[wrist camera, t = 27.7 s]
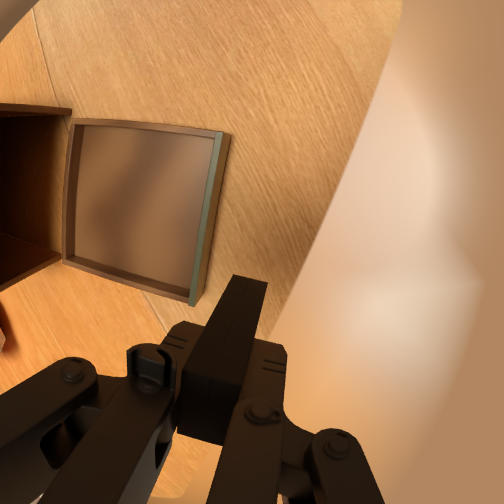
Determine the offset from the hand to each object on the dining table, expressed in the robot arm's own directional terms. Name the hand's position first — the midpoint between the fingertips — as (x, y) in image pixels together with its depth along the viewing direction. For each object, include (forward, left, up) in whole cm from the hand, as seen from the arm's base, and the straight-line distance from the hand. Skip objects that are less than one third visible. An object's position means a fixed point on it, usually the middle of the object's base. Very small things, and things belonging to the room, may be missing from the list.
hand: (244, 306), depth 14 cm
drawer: (+6, +12, -14) cm, 19 cm away
